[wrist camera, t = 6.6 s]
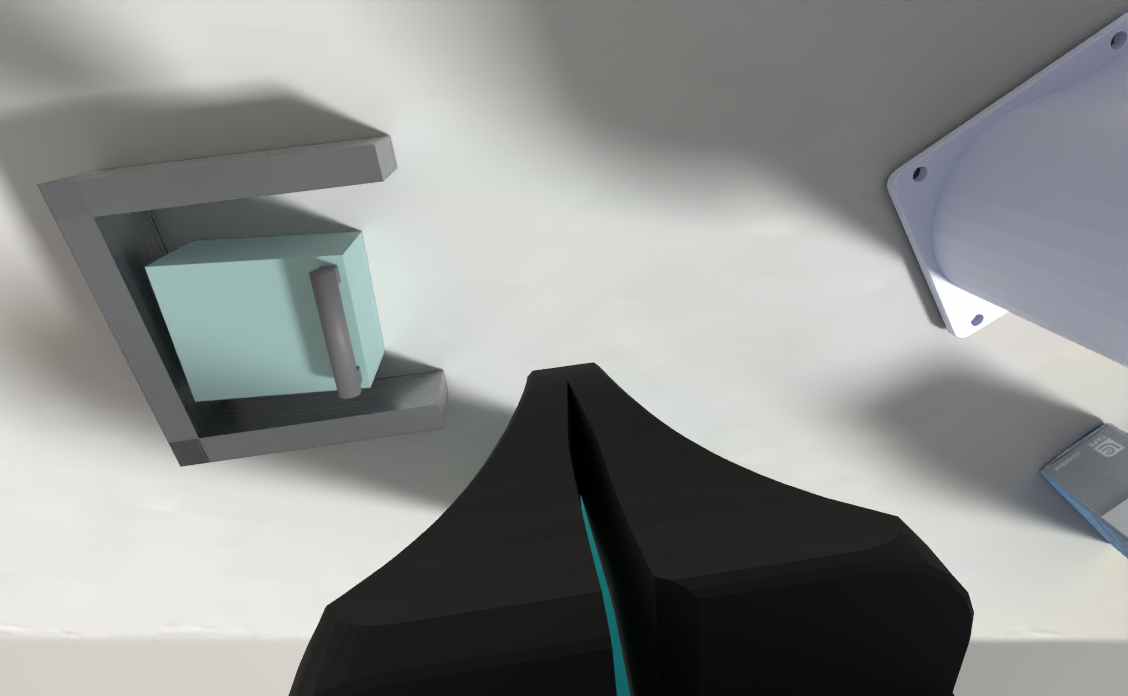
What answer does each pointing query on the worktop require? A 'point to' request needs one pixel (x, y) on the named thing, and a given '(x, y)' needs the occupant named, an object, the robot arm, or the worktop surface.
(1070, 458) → the label tape box
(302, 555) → the worktop surface
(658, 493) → the robot arm
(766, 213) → the worktop surface
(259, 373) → the mint cube with handle
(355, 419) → the bay
